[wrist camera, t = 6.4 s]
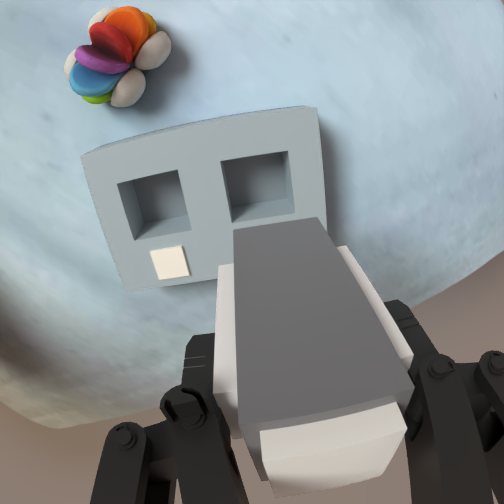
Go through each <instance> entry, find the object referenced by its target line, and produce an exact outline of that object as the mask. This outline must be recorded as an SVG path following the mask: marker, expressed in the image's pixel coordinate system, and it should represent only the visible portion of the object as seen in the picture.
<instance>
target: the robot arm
mask: <svg viewBox="0 0 504 504" xmlns="http://www.w3.org/2000/svg"><path fill="white" fill-rule="evenodd" d="M337 249H338V250H339V252H340V254H341V255H342V257H343V259H344V260H345V262H346V264H347V265H348V267H349V268H350V270H351V272H352V273H353V275H354V277H355V279H356V280H357V282H358V284H359V285H360V287H361V289H362V290H363V292H364V294H365V296H366V297H367V299H368V301H369V303H370V304H371V306H372V308H373V310H374V311H375V313H376V315H377V317H378V318H379V320H380V322H381V324H382V326H383V327H384V329H385V331H386V333H387V335H388V337H389V338H390V340H391V342H392V344H393V346H394V348H395V350H396V352H397V353H398V355H399V357H400V359H401V361H402V363H403V365H404V367H405V369H406V371H407V373H408V375H409V377H410V379H411V381H412V383H413V385H414V387H415V388H414V391H413V393H412V396H411V399H410V401H409V403H408V406H407V408H406V411H405V413H404V415H403V419H404V421H405V424H406V426H407V430H406V432H405V434H404V435H405V442H406V450H407V457H408V466H409V475H410V485H411V498H412V504H494V502H493V496H492V490H493V492H494V494H495V497H496V499H497V501H498V503H499V504H504V353H502V352H499V351H488V352H486V353H484V354H483V355H482V356H481V359H480V361H479V362H476V363H455V362H454V360H452V359H451V358H450V357H448V356H446V355H443V354H439V353H438V351H437V350H436V348H435V347H434V345H433V344H432V342H431V340H430V339H429V337H428V336H427V334H426V333H425V331H424V330H423V328H422V327H421V325H419V322H418V321H417V319H416V318H414V315H413V313H412V312H411V310H410V309H409V307H408V306H406V305H405V304H403V303H402V302H401V301H399V300H398V299H397V300H393V301H389V302H384V303H383V302H382V300H381V299H380V297H379V295H378V294H377V292H376V291H375V289H374V287H373V286H372V284H371V283H370V281H369V280H368V278H367V276H366V275H365V273H364V272H363V270H362V269H361V267H360V266H359V264H358V263H357V261H356V260H355V258H354V257H353V255H352V254H351V252H350V251H349V249H348V248H347V246H346V245H345V246H339V247H337ZM160 409H161V411H162V412H163V414H164V415H165V417H166V418H167V420H165V421H163V422H160V423H158V424H154V425H151V426H148V427H144V428H142V427H141V426H139V425H138V424H137V423H133V422H123V423H120V424H118V425H116V426H114V427H113V428H112V429H111V430H110V431H109V433H108V435H107V437H106V440H105V444H104V447H103V451H102V455H101V459H100V463H99V467H98V471H97V475H96V479H95V484H94V488H93V492H92V496H91V501H90V504H174V499H175V489H176V479H178V481H179V487H180V493H181V498H182V503H183V504H249V502H248V498H247V495H246V492H245V489H244V486H243V482H242V479H241V476H240V472H239V469H238V466H237V462H236V459H235V456H234V452H233V450H232V448H231V440H230V434H231V436H232V438H233V439H239V438H244V437H243V435H242V432H241V430H240V427H239V423H238V398H237V370H236V339H235V301H234V263H232V264H226V265H220V266H219V268H218V285H217V304H216V325H215V333H210V334H202V335H193V336H192V338H191V340H190V341H189V343H188V344H187V346H186V352H185V360H184V369H183V375H182V383H181V385H179V386H176V387H173V388H172V389H170V390H169V391H168V392H166V393H165V395H164V396H163V398H162V399H161V403H160ZM491 488H492V489H491Z"/></svg>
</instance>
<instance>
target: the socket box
mask: <svg viewBox="0 0 504 504" xmlns="http://www.w3.org/2000/svg"><path fill="white" fill-rule="evenodd" d="M80 158H81V162H82V165H83V169H84V173H85V176H86V180H87V183H88V186H89V190H90V193H91V196H92V200H93V203H94V206H95V209H96V212H97V215H98V218H99V221H100V224H101V227H102V230H103V233H104V236H105V239H106V241H107V244H108V247H109V250H110V252H111V255H112V258H113V260H114V263H115V265H116V268H117V271H118V273H119V276H120V278H121V281H122V283H123V285H124V288H125V290H126V292H131V291H138V290H145V289H152V288H159V287H165V286H172V285H179V284H186V283H192V282H199V281H205V280H212V279H218V268H219V266H220V265H226V264H232V263H234V254H233V230H234V229H240V228H246V227H253V226H259V225H266V224H272V223H279V222H285V221H292V220H298V219H305V218H312V217H318V219H319V220H320V222H321V224H322V225H323V227H324V228H325V230H326V231H327V219H326V202H325V187H324V174H323V162H322V151H321V141H320V131H319V122H318V113H317V108H314V107H308V106H296V107H286V108H278V109H270V110H262V111H255V112H248V113H242V114H235V115H229V116H223V117H218V118H212V119H207V120H202V121H197V122H192V123H187V124H183V125H178V126H174V127H169V128H165V129H161V130H157V131H153V132H149V133H145V134H141V135H138V136H134V137H130V138H127V139H123V140H120V141H116V142H113V143H109V144H106V145H103V146H100V147H98V148H96V149H94V150H92V151H90V152H88V153H86V154H84V155H82V156H80Z"/></svg>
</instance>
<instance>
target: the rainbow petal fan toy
mask: <svg viewBox="0 0 504 504" xmlns="http://www.w3.org/2000/svg"><path fill="white" fill-rule="evenodd" d="M88 35H89V38H90V39H91V41H92V45H82V46H79V47H78V48H77V49H75V50H74V51H73V52H72V53H71V54H70V55H69V56H68V58H67V60H66V62H65V66H64V72H65V76H66V78H67V79H68V81H69V82H70V86H71V88H72V89H73V91H74V92H76V93H77V94H78V95H81V96H82V98H83V99H84V100H86V101H87V102H89V103H92V104H101V103H105V102H107V101H109V100H111V105H113V106H115V107H120V108H121V107H128V106H131V105H133V104H134V103H136V102H137V101H138V100H139V98H140V97H141V96H142V94H143V92H144V90H145V86H146V81H145V77H144V75H143V73H142V72H141V70H151V69H154V68H157V67H159V66H160V65H161V64H162V63H163V62H164V61H165V60H166V59H167V57H168V56H169V54H170V52H171V41H170V38H169V37H168V35H167V34H166V33H165V32H163V31H159V32H157V33H156V23H155V20H154V19H153V17H152V16H151V15H149V14H147V13H145V12H141V11H140V10H139V9H138V8H135V7H130V6H128V7H121V8H117V7H109V8H105V9H103V10H101V11H99V12H98V13H96V14H95V15H94V16H93V18H92V19H91V21H90V23H89V26H88ZM132 61H134V66H135V68H133V69H130V68H129V67H130V63H131V62H132Z"/></svg>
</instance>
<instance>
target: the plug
mask: <svg viewBox="0 0 504 504" xmlns="http://www.w3.org/2000/svg"><path fill="white" fill-rule="evenodd" d="M233 254H234V301H235V339H236V370H237V398H238V423H239V427H240V430H241V432H242V435H243V437H244V440H245V442H246V445H247V447H248V450H249V452H250V455H251V457H252V459H253V462H254V465H255V467H256V470H257V472H258V474H259V477H260V479H261V481H267V480H269V481H270V484H271V487H272V490H273V493H274V495H275V498H279V497H287V496H293V495H300V494H306V493H311V492H316V491H322V490H327V489H331V488H335V487H340V486H344V485H348V484H352V483H356V482H360V481H364V480H367V479H371V478H374V477H377V476H381V475H382V474H383V472H384V470H385V469H386V467H387V465H388V463H389V462H390V460H391V458H392V456H393V455H394V453H395V451H396V449H397V447H398V445H399V444H400V442H401V440H402V438H403V436H404V434H405V432H406V430H407V426H406V424H405V421H404V419H403V415H404V413H405V411H406V408H407V406H408V403H409V401H410V399H411V396H412V393H413V391H414V388H415V387H414V385H413V383H412V381H411V379H410V377H409V375H408V373H407V371H406V369H405V367H404V365H403V363H402V361H401V359H400V357H399V355H398V353H397V352H396V350H395V348H394V346H393V344H392V342H391V340H390V338H389V337H388V335H387V333H386V331H385V329H384V327H383V326H382V324H381V322H380V320H379V318H378V317H377V315H376V313H375V311H374V310H373V308H372V306H371V304H370V303H369V301H368V299H367V297H366V296H365V294H364V292H363V290H362V289H361V287H360V285H359V284H358V282H357V280H356V279H355V277H354V275H353V273H352V272H351V270H350V268H349V267H348V265H347V264H346V262H345V260H344V259H343V257H342V255H341V254H340V252H339V250H338V249H337V247H336V246H335V244H334V242H333V241H332V239H331V238H330V236H329V234H328V233H327V231H326V230H325V228H324V227H323V225H322V224H321V222H320V220H319V219H318V217H312V218H305V219H298V220H292V221H285V222H279V223H272V224H266V225H259V226H253V227H246V228H240V229H234V230H233Z"/></svg>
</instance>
